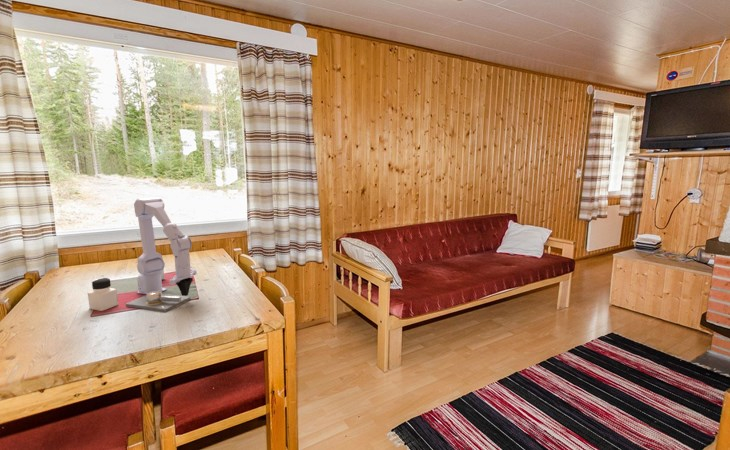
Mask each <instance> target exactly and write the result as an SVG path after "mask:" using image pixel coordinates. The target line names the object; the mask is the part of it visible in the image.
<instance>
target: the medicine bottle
mask: <svg viewBox="0 0 730 450" xmlns="http://www.w3.org/2000/svg"><path fill="white" fill-rule="evenodd" d="M111 284H112V283H111V279H110V278H108V277H100V278H96V279H94V280H93V281H91V286H92V290H91V291H88V292H87V299H88V307H89V309H90V310H95V311H99V312H104V311H105V310H106V311H107V310H108V309H111V308H113V307H116V306H118V305H119V299H118V290H117V289H116V288H112V287H111Z"/></svg>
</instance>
